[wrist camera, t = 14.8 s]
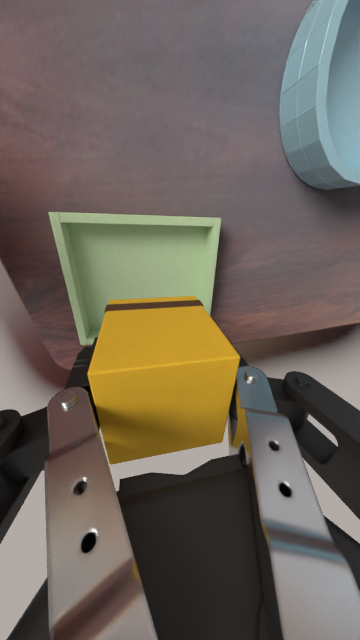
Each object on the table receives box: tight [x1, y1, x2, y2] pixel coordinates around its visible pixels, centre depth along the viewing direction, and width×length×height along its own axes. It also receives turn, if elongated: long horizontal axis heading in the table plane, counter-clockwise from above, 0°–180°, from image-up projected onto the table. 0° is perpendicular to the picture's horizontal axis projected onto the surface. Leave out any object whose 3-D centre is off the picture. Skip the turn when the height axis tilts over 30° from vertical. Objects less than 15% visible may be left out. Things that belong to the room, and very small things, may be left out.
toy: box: [87, 296, 240, 464], centre depth 10 cm, size 5×5×6 cm
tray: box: [48, 212, 221, 345], centre depth 22 cm, size 16×14×2 cm
